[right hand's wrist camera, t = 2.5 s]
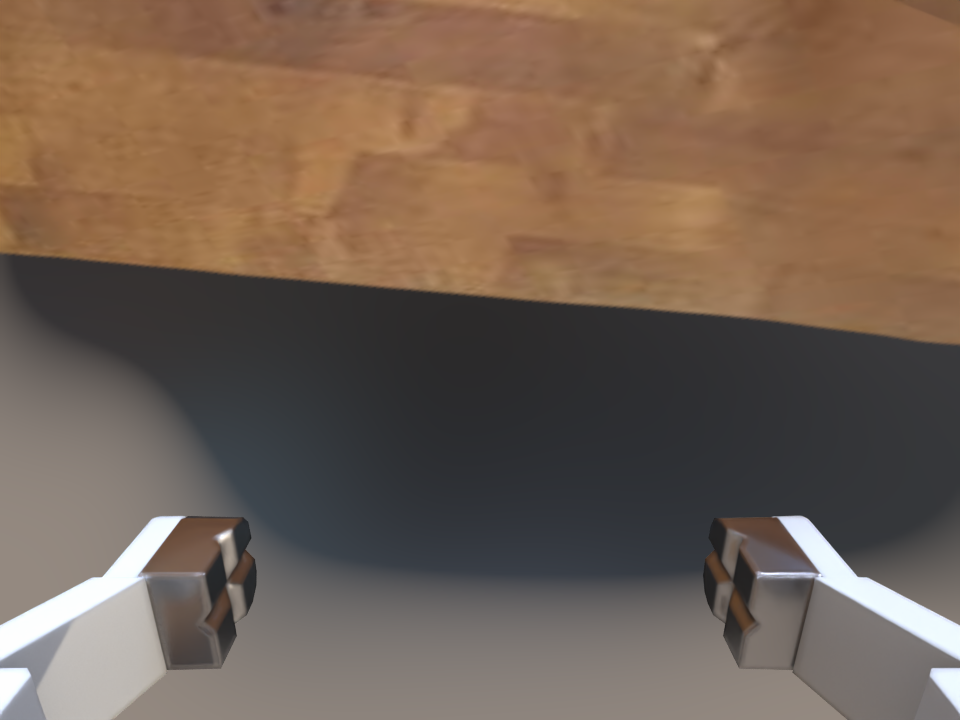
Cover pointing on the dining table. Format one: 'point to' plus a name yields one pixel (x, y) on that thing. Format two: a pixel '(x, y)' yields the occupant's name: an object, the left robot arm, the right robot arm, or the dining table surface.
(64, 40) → the dining table surface
